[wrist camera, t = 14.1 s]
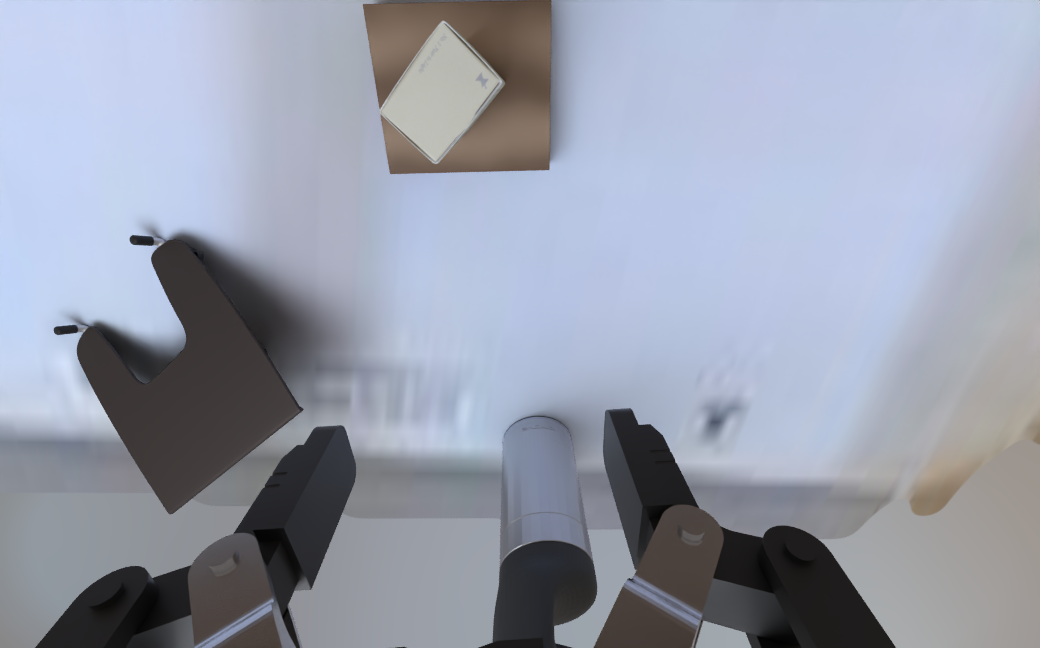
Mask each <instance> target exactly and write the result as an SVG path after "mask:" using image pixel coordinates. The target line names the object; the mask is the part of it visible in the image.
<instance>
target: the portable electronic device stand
mask: <svg viewBox="0 0 1040 648" xmlns="http://www.w3.org/2000/svg"><path fill="white" fill-rule="evenodd" d="M130 242H131V243H132V244H133V245H147V246H152V245H156V246H159V247H158V248H157V249H156V250H155V251H154V253H153V254H152V257H151V261H152V264H153V267H154V269H155V271H156V274H157V276H158V278H159V280H160V282H161V284H162V287H163V289H164V291H165V293H166V295H167V297H168V299H169V301H170V303H171V305H172V307H173V309H174V311H175V312H176V314H177V316H178V318H179V320H180V321H181V323H182V325H183V327H184V330H185V333H186V345H185V347H184V349H183V350H182V351H181V352H180V354H179V355H178V356H177V357H176V358H175V359H174V360H173V361H172V362H171V363H170V364H169V365H168V366H167V367H166V368H165V369H164V370H163V371H162V372H161V373H160V374H158V375H157V376H156V377H155V378H154V379H153V380H152V381H151V382H149V383H148V384H144V383H142V382H140V381H139V380H138V379H137V378H136V377H135V375H134V374H133V373H132V371H131V370H130V369H129V367H128V366H127V364H126V363H125V362H124V360H123V359H122V358H121V356H120V355H119V354H118V353H117V351H116V350H115V349H114V348H113V347H112V345H111V344H110V343H109V342H108V341H107V339H106V338H105V337H104V336H103V335H102V334H101V332H100V331H99V330H98V329H97V328H96V327H89V326H86V325H69V326H58V327H55V328H54V333H55V334H57V335H62V334H71V333H77V332H83V334H82V336H81V338H80V340H79V342H78V345H77V356H78V360H79V362H80V364H81V366H82V368H83V370H84V372H85V374H86V376H87V378H88V380H89V382H90V384H91V386H92V388H93V390H94V392H95V394H96V395H97V397H98V399H99V401H100V403H101V405H102V406H103V408H104V410H105V412H106V414H107V415H108V417H109V419H110V421H111V422H112V424H113V426H114V427H115V429H116V431H117V432H118V434H119V436H120V437H121V439H122V441H123V442H124V444H125V446H126V447H127V449H128V451H129V452H130V454H131V456H132V457H133V459H134V461H135V462H136V464H137V465H138V467H139V469H140V470H141V472H142V473H143V475H144V476H145V478H146V480H147V481H148V483H149V484H150V486H151V487H152V489H153V490H154V492H155V494H156V495H157V497H158V498H159V500H160V501H161V503H162V504H163V506H164V507H165V509H166V510H167V512H168V513H169V514H173V513H174V512H176V511H177V510H178V509H179V508H181V507H182V506H183V505H184V504H186V503H187V502H188V501H189V500H191V499H192V498H193V497H195V496H196V495H197V494H198V493H200V492H201V491H202V490H203V489H205V488H206V487H207V486H208V485H210V484H211V483H212V482H213V481H215V480H216V479H217V478H218V477H220V476H221V475H222V474H224V473H225V472H226V471H227V470H229V469H230V468H231V467H232V466H234V465H235V464H236V463H237V462H239V461H240V460H241V459H242V458H244V457H245V456H246V455H247V454H249V453H250V452H251V451H253V450H254V449H255V448H256V447H258V446H259V445H260V444H261V443H263V442H264V441H265V440H266V439H268V438H269V437H270V436H271V435H273V434H274V433H275V432H276V431H278V430H279V429H280V428H282V427H283V426H284V425H285V424H287V423H288V422H289V421H290V420H292V419H293V418H294V417H295V416H297V415H298V414H299V413H300V412H302V411H303V410H304V409H303V408H301V407H300V406H299V405H298V403H297V402H296V400H295V398H294V397H293V395H292V394H291V392H290V390H289V389H288V387H287V385H286V384H285V382H284V381H283V379H282V377H281V376H280V374H279V373H278V371H277V369H276V368H275V366H274V365H273V363H272V361H271V360H270V358H269V357H268V354H267V350H266V349H263V348H262V346H261V345H260V343H259V342H258V340H257V339H256V337H255V336H254V334H253V333H252V331H251V330H250V328H249V327H248V325H247V324H246V322H245V321H244V319H243V318H242V316H241V315H240V313H239V312H238V311H237V309H236V308H235V306H234V305H233V303H232V302H231V301H230V299H229V298H228V296H227V295H226V294H225V292H224V291H223V290H222V288H221V287H220V286H219V284H218V283H217V282H216V280H215V279H214V278H213V276H212V275H211V274H210V272H209V271H208V270H207V269H206V267H205V266H204V262H203V257H204V254H203V253H202V252H198V251H197V250H196V249H191V248H189V247H188V246H187V244H185V243H184V242H182V241H180V240H169V241H167V242H166V241H164V240H163V239H160V238H156V237H150V236H136V235H132V236H131V237H130Z"/></svg>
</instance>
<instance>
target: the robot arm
mask: <svg viewBox="0 0 1040 648" xmlns="http://www.w3.org/2000/svg"><path fill="white" fill-rule="evenodd" d="M603 455H604V463H605V468H606V472H607V475H608V478H609V482H610V485H611V489H612V492H613V496H614V499H615V502H616V506H617V509H618V513H619V516H620V520H621V523H622V526H623V530H624V533H625V537H626V540H627V544H628V547H629V551H630V554H631V557H632V561H633V564H634V568H635V569H636V573H635V575H634V576H633V578H632V579H630V578H629V579H627V581H626V582H625V583H624V585H623V587H622V589H621V591H620V593H619V595H618V597H617V600H616V602H615V604H614V606H613V608H612V610H611V612H610V614H609V616H608V618H607V621H606V623H605V625H604V627H603V629H602V631H601V633H600V635H599V637H598V639H597V642H596V644H595V646H594V648H695V647H696V644H697V641H698V637H699V634H700V630H701V627H702V623H703V620H704V621H708V622H711V623H714V624H718V625H721V626H725V627H728V628H732V629H735V630H739V631H742V632H746V635H747V637H748V640H749V642H750V645H751V647H752V648H895V646H894V644H893V643H892V641H891V640H890V638H889V637H888V635H887V634H886V633H885V631H884V629H883V628H882V627H881V625H880V624H879V622H878V621H877V619H876V618H875V616H874V615H873V613H872V612H871V610H870V609H869V608H868V606H867V605H866V603H865V602H864V600H863V599H862V597H861V596H860V594H859V593H858V591H857V590H856V589H855V587H854V586H853V584H852V583H851V581H850V580H849V579H848V577H847V575H846V574H845V572H844V571H843V570H842V568H841V567H840V565H839V564H838V562H837V561H836V559H835V558H834V556H833V555H832V553H831V552H830V551H829V550H828V548H827V547H826V546H825V545H824V544H823V543H822V542H821V541H819V540H818V539H817V538H815V537H814V536H812V535H811V534H809V533H807V532H805V531H803V530H801V529H798V528H795V527H790V526H775V527H772V528H770V529H768V530H767V531H766V533H765V534H764V537H763V538H761V537H756V536H752V535H747V534H743V533H738V532H734V531H731V530H728V529H725V528H723V527H721V526H720V525H719V524H718V522H717V521H716V520H715V519H714V518H713V517H712V516H711V515H710V514H708V513H707V512H705V511H704V510H702V509H700V508H699V507H698V505H697V503H696V501H695V499H694V497H693V495H692V493H691V491H690V489H689V487H688V485H687V483H686V481H685V479H684V477H683V475H682V473H681V471H680V469H679V467H678V465H677V463H675V459H674V457H673V455H672V453H671V452H670V449H669V447H668V445H667V443H666V441H665V439H664V437H663V435H661V434H660V433H659V432H658V431H657V430H656V429H655V428H654V427H653V426H651V425H650V424H647V425H638V423H637V420H636V418H635V416H634V413H633V411H632V410H631V409H630V408H629V409H613V410H606V412H605V424H604V443H603ZM355 478H356V463H355V460H354V456H353V453H352V450H351V446H350V443H349V440H348V436H347V433H346V430H345V428H344V427H343V426H341V425H340V426H324V427H316V428H314V430H313V431H312V433H311V434H310V436H309V437H308V439H307V441H306V442H305V444H304V445H297V446H296V447H295V448H294V449H292V450H291V451H290V452H289V453H288V454H287V455H286V456H284V457H283V458H282V459H281V461H280V463H279V464H278V466H277V467H276V469H275V470H274V472H273V476H270V478H269V480H268V481H267V483H266V484H265V488H263V489H262V490H261V492H260V493H259V495H258V497H257V498H256V500H255V501H254V503H253V504H252V506H251V507H250V509H249V511H248V512H247V514H246V515H245V517H244V518H243V520H242V522H241V523H240V525H239V526H238V528H237V529H236V531H235V532H234V534H232V535H229V536H226V537H224V538H221V539H219V540H218V541H216V542H214V543H213V544H211V545H210V546H208V547H207V548H206V549H205V550H204V551H203V552H202V553H201V554H200V555H199V556H198V557H197V558H196V559H195V560H194V562H193V564H192V565H190V566H188V567H185V568H182V569H178V570H175V571H172V572H170V573H167V574H163V575H160V576H157V577H154V578H152V577H151V576H150V574H149V573H148V572H147V570H146V569H145V568H142V567H140V566H130V567H125V568H122V569H119V570H116V571H114V572H112V573H110V574H108V575H106V576H104V577H102V578H101V579H99V580H97V581H96V582H95V583H93V584H92V585H90V586H89V587H88V588H87V589H85V590H84V591H83V592H82V593H81V594H80V595H79V596H78V597H77V598H76V599H75V600H74V602H73V603H72V604H71V605H70V606H69V608H68V609H67V610H66V611H65V612H64V614H63V615H62V616H61V617H60V618H59V620H58V621H57V622H56V623H55V625H54V626H53V627H52V628H51V629H50V631H49V632H48V633H47V634H46V636H45V637H44V638H43V639H42V640H41V641H40V643H39V644H38V645H37V646H36V647H35V648H302V644H301V641H300V638H299V634H298V631H297V628H296V625H295V621H294V618H293V615H292V612H291V609H290V607H289V605H288V603H289V601H290V599H291V597H292V594H293V592H294V591H298V590H311V588H312V586H313V584H314V581H315V579H316V576H317V574H318V571H319V569H320V567H321V564H322V562H323V559H324V556H325V554H326V552H327V549H328V547H329V544H330V542H331V539H332V537H333V534H334V532H335V529H336V527H337V525H338V522H339V520H340V517H341V515H342V512H343V510H344V507H345V505H346V502H347V500H348V497H349V495H350V492H351V490H352V488H353V485H354V482H355ZM596 595H597V582H596V575H595V570H594V564H593V558H592V552H591V547H590V541H589V535H588V531H587V525H586V519H585V514H584V508H583V502H582V497H581V491H580V485H579V480H578V474H577V468H576V463H575V456H574V451H573V445H572V440H571V435H570V433H569V431H568V429H567V428H566V427H565V426H564V425H563V424H561V423H560V422H558V421H556V420H554V419H551V418H547V417H530V418H526V419H522V420H520V421H518V422H516V423H515V424H514V425H512V426H511V427H510V428H509V429H508V430H507V431H506V433H505V435H504V438H503V451H502V488H501V529H500V575H499V588H498V594H497V600H496V606H495V614H494V626H493V643H490V644H487V645H485V646H482V647H479V648H571V647H567V646H564V645H560V644H556V643H555V640H554V626H555V625H560V624H564V623H566V622H569V621H572V620H574V619H576V618H578V617H579V616H581V615H582V614H584V613H585V612H586V611H587V610H588V609H589V608H590V607H591V606H592V605H593V603H594V601H595V598H596ZM397 648H406V647H397Z"/></svg>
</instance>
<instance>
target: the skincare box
mask: <svg viewBox="0 0 1040 648" xmlns="http://www.w3.org/2000/svg"><path fill="white" fill-rule="evenodd" d="M504 85H505V81H504V80H503V79H502V78H501V77H500V76H499V75H498V73H497V72H496V71H495V70H494V69H493V68H492V67H491V66H490V65H489V63H488V62H487V61H486V60H485V59H484V58H483V57H482V56H481V55H480V54H479V53H478V52H477V51H476V50H475V48H474V47H473V46H472V45H471V44H470V43H469V42H468V41H467V40H465V39H464V38H463V36H462V35H460V34H459V33H458V32H457V31H456V30H455V29H454V28H453V27H452V26H451V25H450V24H449V23H447V22H446V21H441V23H440V24H439V25H438V26H437V27H436V29H435V30H434V31H433V33H432V34H431V35H430V37H429V38H428V39H427V41H426V42H425V43H424V45H423V46H422V47H421V49H420V50H419V52H418V53H417V54H416V56H415V57H414V59H413V60H412V62H411V63H410V65H409V66H408V67H407V69H406V70H405V72H404V73H403V75H402V76H401V78H400V79H399V81H398V82H397V84H396V85H395V87H394V88H393V90H392V91H391V93H390V94H389V96H388V97H387V99H386V100H385V102H384V104H383V105H382V107H381V108H380V111H379V112H380V114H381V115H382V116H383V117H384V118H385V119H386V120H387V121H389V122H390V123H391V124H392V125H393V126H394V127H395V128H396V129H397V130H398V131H399V132H400V133H401V134H402V135H403V136H404V137H405V138H406V139H407V140H408V141H410V142H411V143H412V144H413V145H414V146H415V147H416V148H417V149H418V150H419V151H420V152H421V153H422V154H423V155H425V156H426V157H427V158H428V159H429V160H430V161H431V162H432V163H434V164H438V163H439V162H440V161H441V160H442V159H443V158H444V157H445V155H446V154H447V153H448V152H449V151H450V150H451V149H452V148H453V147H454V146H455V145H456V143H457V142H458V141H459V140H460V139H461V138H462V137H463V136H464V134H465V133H466V132H467V131H468V130H469V129H470V127H471V126H472V125H473V124H474V123H475V121H476V120H477V119H478V118H479V117H480V115H481V114H482V113H483V112H484V110H485V109H486V108H487V107H488V106H489V104H490V103H491V102H492V101H493V99H494V98H495V97H496V95H497V94H498V93H499V92H500V90H501V89H502V88H503V86H504Z"/></svg>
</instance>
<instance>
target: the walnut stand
mask: <svg viewBox="0 0 1040 648" xmlns="http://www.w3.org/2000/svg"><path fill="white" fill-rule="evenodd" d="M363 9H364V15H365V21H366V27H367V33H368V40H369V46H370V52H371V58H372V65H373V71H374V77H375V83H376V89H377V96H378V102H379V108H381V107H382V105H383V104H384V102H385V100H386V99H387V97H388V96H389V94H390V93H391V91H392V90H393V88H394V87H395V85H396V84H397V82H398V81H399V79H400V78H401V76H402V75H403V73H404V72H405V70H406V69H407V67H408V66H409V65H410V63H411V62H412V60H413V59H414V57H415V56H416V54H417V53H418V52H419V50H420V49H421V47H422V46H423V45H424V43H425V42H426V41H427V39H428V38H429V37H430V35H431V34H432V33H433V31H434V30H435V29H436V27H437V26H438V25H439V24H440V23H441V21H446V22H447V23H449V24H450V25H451V26H452V27H453V28H454V29H455V30H456V31H457V32H458V33H459V34H460V35H462V36H463V38H464V39H465V40H467V41H468V42H469V43H470V44H471V45H472V46H473V47H474V48H475V50H476V51H477V52H478V53H479V54H480V55H481V56H482V57H483V58H484V59H485V60H486V61H487V62H488V63H489V65H490V66H491V67H492V68H493V69H494V70H495V71H496V72H497V73H498V75H499V76H500V77H501V78H502V79H503V80H504V81H505V85H504V86H503V88H502V89H501V90H500V92H499V93H498V94H497V95H496V97H495V98H494V99H493V101H492V102H491V103H490V104H489V106H488V107H487V108H486V109H485V110H484V112H483V113H482V114H481V115H480V117H479V118H478V119H477V120H476V121H475V123H474V124H473V125H472V126H471V127H470V129H469V130H468V131H467V132H466V133H465V134H464V136H463V137H462V138H461V139H460V140H459V141H458V142H457V143H456V145H455V146H454V147H453V148H452V149H451V150H450V151H449V152H448V153H447V154H446V155H445V157H444V158H443V159H442V160H441V161H440V162H439V163H438V164H434V163H432V162H431V161H430V160H429V159H428V158H427V157H426V156H425V155H423V154H422V153H421V152H420V151H419V150H418V149H417V148H416V147H415V146H414V145H413V144H412V143H411V142H410V141H408V140H407V139H406V138H405V137H404V136H403V135H402V134H401V133H400V132H399V131H398V130H397V129H396V128H395V127H394V126H393V125H392V124H391V123H390V122H389V121H387V120H386V119H385V118H384V117H383V116H382V115H381V121H382V127H383V133H384V139H385V145H386V152H387V158H388V164H389V170H390V174H408V173H447V172H487V171H526V170H549V161H550V70H551V0H525V1H481V2H438V3H395V4H363Z"/></svg>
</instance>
